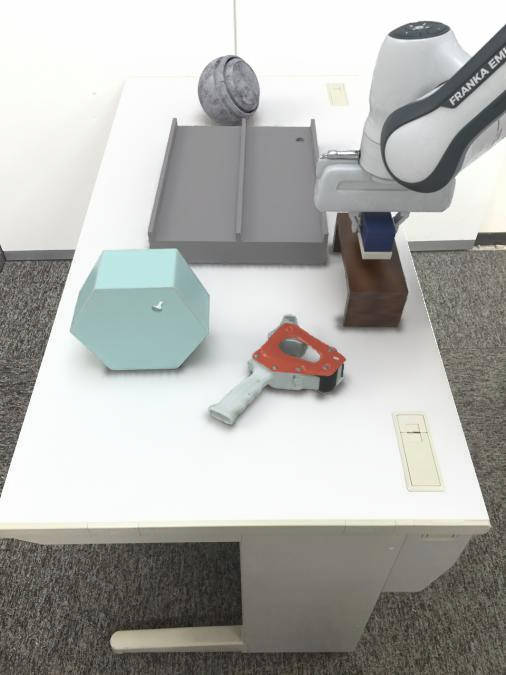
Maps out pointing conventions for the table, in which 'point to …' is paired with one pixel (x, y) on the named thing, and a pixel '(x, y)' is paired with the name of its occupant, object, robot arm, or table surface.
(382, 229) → the navy lidded box
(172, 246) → the desk organizer
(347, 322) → the brown wooden block
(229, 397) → the tape dispenser
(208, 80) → the decorative orb
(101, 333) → the cyan faceted polyhedron
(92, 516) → the table surface
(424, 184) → the robot arm
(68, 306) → the table surface
